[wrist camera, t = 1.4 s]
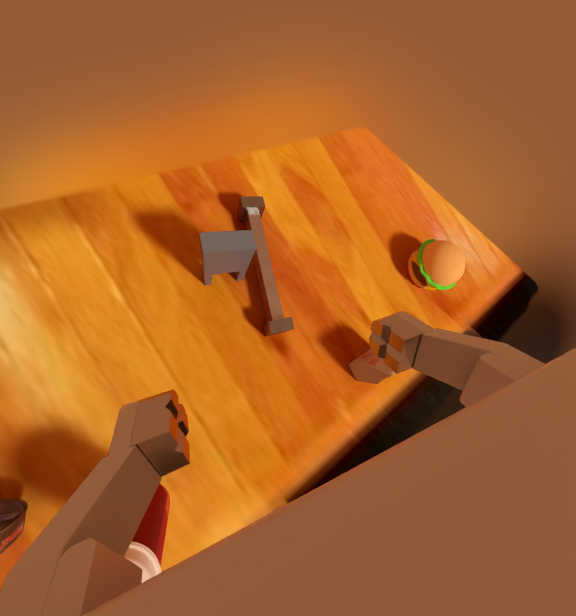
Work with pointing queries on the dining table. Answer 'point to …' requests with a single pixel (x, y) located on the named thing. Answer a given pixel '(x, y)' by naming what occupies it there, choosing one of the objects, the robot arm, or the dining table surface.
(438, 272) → the hamburger
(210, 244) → the clip
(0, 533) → the tin
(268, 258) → the rail
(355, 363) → the printed food carton
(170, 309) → the dining table surface
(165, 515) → the paper cup
